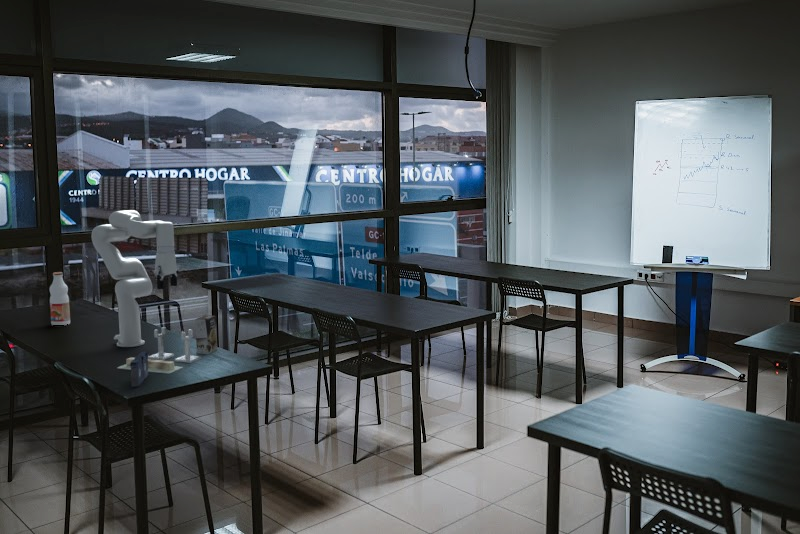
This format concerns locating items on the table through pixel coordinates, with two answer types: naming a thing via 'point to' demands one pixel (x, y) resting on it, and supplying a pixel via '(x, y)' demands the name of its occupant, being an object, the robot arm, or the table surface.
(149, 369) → the sage mat
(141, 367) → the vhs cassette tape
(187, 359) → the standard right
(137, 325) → the robot arm
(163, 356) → the standard left
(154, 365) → the birch rail
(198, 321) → the coffee box
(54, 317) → the fruit juice
